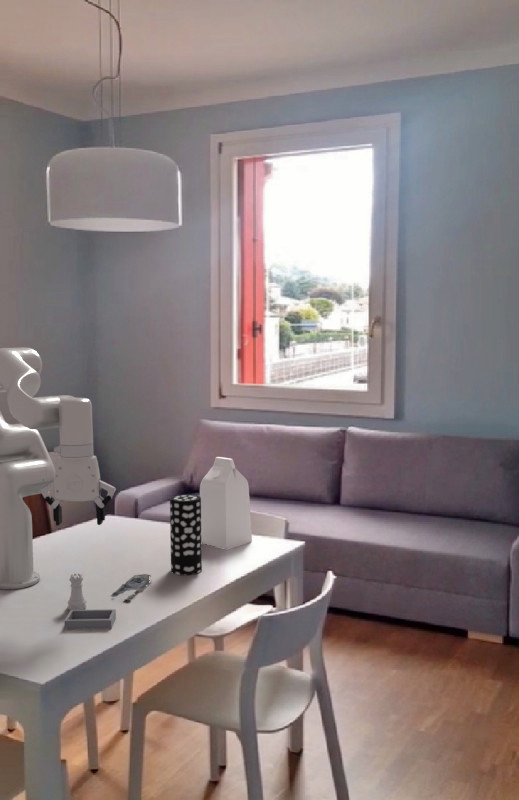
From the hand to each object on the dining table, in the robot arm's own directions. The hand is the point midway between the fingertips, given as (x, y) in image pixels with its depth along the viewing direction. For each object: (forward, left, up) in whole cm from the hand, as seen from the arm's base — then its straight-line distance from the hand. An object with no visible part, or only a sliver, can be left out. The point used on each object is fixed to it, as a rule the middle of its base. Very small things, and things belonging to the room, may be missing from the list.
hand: (79, 523), depth 189 cm
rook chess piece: (-1, 0, -21) cm, 21 cm away
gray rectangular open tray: (+4, -10, -20) cm, 23 cm away
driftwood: (+10, +14, -21) cm, 27 cm away
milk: (+33, +56, -21) cm, 68 cm away
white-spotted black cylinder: (+23, +28, -21) cm, 42 cm away
